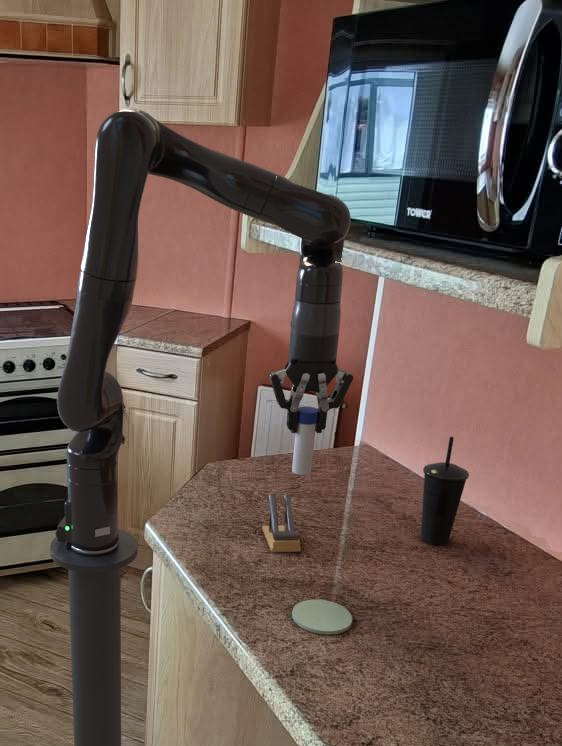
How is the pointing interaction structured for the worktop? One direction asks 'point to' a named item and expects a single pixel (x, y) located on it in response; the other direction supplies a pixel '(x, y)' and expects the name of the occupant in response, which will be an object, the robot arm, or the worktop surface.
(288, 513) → the rack
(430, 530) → the drinking cup
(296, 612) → the mat
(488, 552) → the worktop surface
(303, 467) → the vial
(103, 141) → the robot arm
